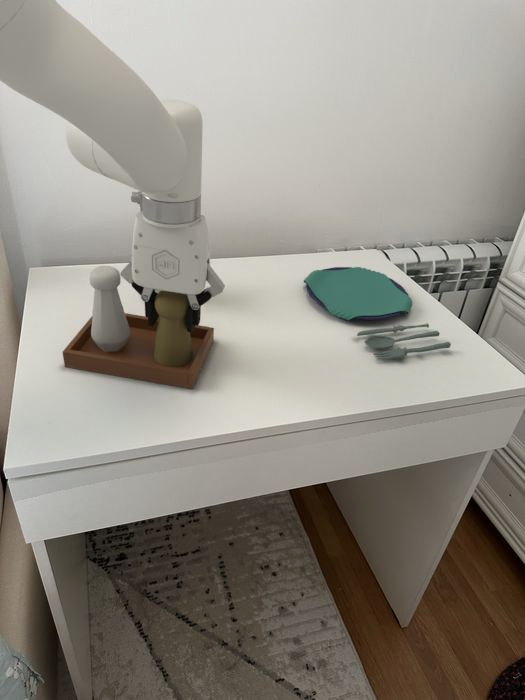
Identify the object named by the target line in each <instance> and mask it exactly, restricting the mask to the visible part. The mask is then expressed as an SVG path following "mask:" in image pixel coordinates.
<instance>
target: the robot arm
mask: <svg viewBox="0 0 525 700" xmlns="http://www.w3.org/2000/svg"><path fill="white" fill-rule="evenodd" d="M0 82H2V83H3V84H4V85H6V86H7V87H9V88H11V89H12V90H13V91H14V92H16V93H18V94H20V95H21V96H23V97H25V98H27V99H29V100H31V101H33V102H34V103H36V104H38V105H40V106H42V107H43V108H45V109H48V110H49V111H51V112H53V113H55V114H56V115H58V116H60V117H61V118H63V119H64V120H66V122H67V125H66V129H65V141H66V144H67V147H68V150H69V153H71V155H72V157H73V158H74V159H75V160H76V161H77V162H78V163H80V164H81V165H82V166H83V167H85V168H87V169H88V170H90V171H92V172H94V173H97V174H99V175H101V176H104V177H105V178H108V179H111V180H114V181H116V182H118V183H120V184H123V185H125V186H127V187H130V188H132V189H134V190H137V191H131V194H130V201H131V202H132V203H134V204H135V203H136V205H139V207H140V209H139V210H140V211H139V212H137V213H136V214H135V219H134V223H133V231H132V245H131V260H130V261H129V263H128V264H126V266H125V267H124V268H123V269H122V270H121V271H120V272H119V273H120V277H122V279H124V280H125V281H126V282H127V283H128V284H130V285H131V287H132V288H133V289H134V290H135V291H136V293H138V295H139V296H140V299H141V301H143V302H144V316H145V317H148V325H149V326H153V325H154V324H155V322H156V321H157V319H158V316H159V314H158V313H157V311H156V309H155V298H156V296H157V294H158V293H156V292H155V290H163V291H169V292H175V293H181V294H187V296H188V299H189V302H190V306H189V307H188V309H187V331H188V332H190V333H192V331H193V329H194V328H195V326H196V325H200V323H201V314H202V311H201V310H202V308H201V307H202V306H204V305H205V304H206V303H207V302H209V301H210V300H211V299H212V298H215V297H216V296H218V295H220V294H222V293H223V291H224V289H225V288H226V287H225V286H226V285H225V284H224V282H223V280H222V279H221V278H220V277H219V275H218V274H217V273H216V272H215V270H214V268H212V266H211V251H210V249H211V248H210V238H209V231H208V226H207V221H206V217H205V216H204V214H202V173H203V172H202V170H203V169H202V168H203V167H202V166H203V129H204V127H203V125H204V124H203V115H202V113H201V111H200V109H199V108H198V106H196V105H195V104H192V103H190V102H188V101H183V100H177V99H159V98H158V96H157V95H156V94H155V92H154V91H153V90H152V89H151V87H150V86H149V85H148V84H147V83H146V82H145V81H144V80H143V79H142V77H140V76H139V75H138V73H137V72H135V70H133V68H132V67H130V66H129V65H128V64H127V63H126V62H125V61H124V60H123V59H122V58H120V56H118V54H116V53H115V52H114V51H112V50H111V48H109V47H108V46H107V45H106V44H105V43H104V42H102V41H101V40H100V39H99V38H98V37H97V36H96V35H95V34H94V33H92V31H91V30H89V28H87V27H86V26H85V25H84V24H83V23H82V22H80V21H79V20H78V19H77V18H76V17H74V16H73V15H72V14H70V13H69V12H68V10H66V9H65V8H64V7H63V6H62V5H61V4H59V2H58V1H57V0H0ZM207 283H208V284H209V287H206V284H207Z"/></svg>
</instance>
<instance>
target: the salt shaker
mask: <svg viewBox="0 0 525 700" xmlns="http://www.w3.org/2000/svg"><path fill="white" fill-rule="evenodd" d="M120 273H121V272H120V271H119V270H118V269H117V268H116V267H115V266H111V265H99V266H96V267H94V268H93V269H92V270H91V271H90V272H89V284H90V286H91V287H92V288H93V289H94V291H93V305H92V316H93V317H92V316H91V317H92V328H91V336H92V339H93V340H94V342H95V343H96V345H97V346H98V347H99V348H100V349H102V350H103V351H105V352H113V351H119V350H120V349H121V348H122V347H124V346H125V345H126V342H127V340H128V338H129V336H130V328H129V325H128V322H127V319H126V316H125V313H126V312H125V310H124V306H123V303H122V300H121V297H120V293H119V290H118V287H119V286H120V285H121V274H120Z"/></svg>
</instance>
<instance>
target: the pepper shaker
mask: <svg viewBox="0 0 525 700" xmlns="http://www.w3.org/2000/svg"><path fill="white" fill-rule="evenodd" d="M189 306H190V302H189V299H188V296H187V294H181V293H175V292H169V291H163V290H162V291H160V292H159V293H158V294H157V296H156V298H155V309H156V311H157V313H158V314H159V316H158V324H157V332H156V340H155V349H154V359H155V360H156V361H157V362H158V363H159V364H161V365H164V366H168V367H177V366H182V365H185V364H187V363H188V362H190V361H191V359H192V358H193V351H192V344H191V337H190V332H188V331H187V309H188V307H189Z"/></svg>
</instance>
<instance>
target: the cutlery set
mask: <svg viewBox="0 0 525 700" xmlns="http://www.w3.org/2000/svg"><path fill="white" fill-rule="evenodd" d="M303 283H304V284H306V285H305V289H306V292H307V293H308V296H309V297H310V298H311V299H312V300H313V301H314V302H315V303H316V304H317V305H319V306H321V307H322V308H324V309H326V310H327V311H328V313H329V314H330V315H331V316H335V317H338V318H341V319H345V320H347V321H349V320H351V319H358V320H366V321H367V320H368V321H370V320H387V319H389V318H393V317H397V316H399V315H400V314H402V313H404V312H405V313H404V315H409V313H410V310H411V309H412V307H413V300H412V298H411V297H410V296H409V293H408V292H407V291H406V289H405V288H404V287H403V286H402V285H401V284H399V282H396V281H395V280H394V279H393V278H390V277H388V276H387V274H385V273H381V272H380V271H376V270H372V269H370V268H369V269H367V268H366V267H361V266H354V267H352V266H335V267H329V268H324V269H323V268H322V269H316V270H312V271H311V272H310V273H309V274H308V275H307V276H306V277H305V278H304V280H303ZM416 328H430V324H429V323H427V322H426V323H424V324H417V325H407V326H406V325H400V324H399V325H397V326H395V325H393V326H392V327H383V328H374V329H366V330H361V331H359V332H357V333H356V336H357V337H361V336H367V335H368V336H369V335H375V334H383V333H384V334H385V333H390V332H392V333H394V334H397V333H398V332H401V333H402V332H403V331H406V330H411V329H416ZM440 334H441V333H440V332H439V331H438V330H433V331H427V332H423V333H417V334H412V335H408V336H404V337H399V338H397V339H396V338H394V337H391V336H386V335H375V336H372V337H368V338H366V340H365V341H364V344H365V345H366V346H368V347H369V348H373V349H377V350H378V349H382V350H383V349H388V348H391V347H393V346H394V345H395V343H399V342H403V341H411V340H415V339H423V338H424V339H425V338H431V337H440ZM451 346H452V343H451V342H450V341H445V342H439V343H435V344H432V345H427V346H421V347H412V348H411V347H410V348H407V347H406V346H404V347H403V348H402V347H399V346H397V347H396V348H393V349H389V350H385V351H382V352H381V351H380V352H377V353H373V354H372V355H373V356H374V357H375V358H376V360H379V361H380V360H391V359H402V358H404V357H405V356H407V355H408V354H412V353H415V354H416V353H426V352H431V351H436V350H442V349H450V348H451Z"/></svg>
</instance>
